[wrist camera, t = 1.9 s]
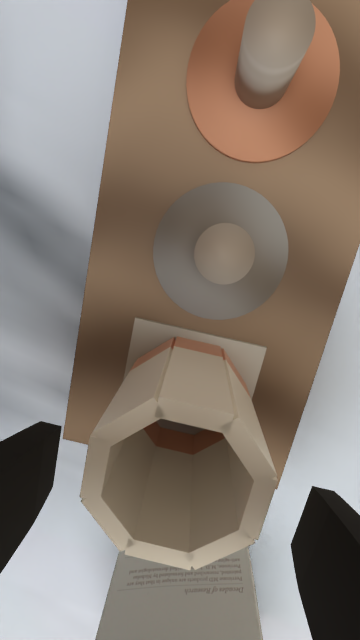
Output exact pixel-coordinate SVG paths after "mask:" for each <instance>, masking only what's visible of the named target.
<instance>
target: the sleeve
mask: <svg viewBox="0 0 360 640" xmlns="http://www.w3.org/2000/svg"><path fill="white" fill-rule="evenodd" d="M159 419H165V420H169V421H174V422H178V423H182V424H187V425H191V426H195V427H199V428H204V430H202V431H201V432H199V433H197V434H195V435H192V434H187V433H183V432H179V431H174V430H170V429H166V428H162V427H160V426H159V425H158V423H157V422H156V421H157V420H159ZM277 482H278V479H277V474H276V471H275V468H274V465H273V462H272V459H271V456H270V453H269V450H268V447H267V444H266V441H265V439H264V436H263V433H262V430H261V427H260V424H259V421H258V418H257V415H256V412H255V409H254V406H253V403H252V400H251V397H250V394H249V392H248V389H247V386H246V383H245V382H244V380H243V379H242V377H241V375H240V374H239V372H238V371H237V369H236V368H235V366H234V364H233V363H232V361H231V360H230V358H229V357H228V355H227V353H226V352H225V350H224V349H223V348H222V349H221V346H217V345H213V344H209V343H204V342H200V341H195V340H191V339H187V338H182V337H178V336H177V338H176V339H175V338H174V337H173V338H171V339H169V340H168V341H166V342H164V343H163V344H161V345H159V346H158V347H156V348H154V349H153V350H151V351H150V352H148V353H146V354H145V355H143V356H141V357H140V358H138V359H137V360H136V362H135V363H134V365H133V367H132V368H131V370H130V371H129V373H128V375H127V376H126V378H125V380H124V381H123V383H122V385H121V386H120V388H119V389H118V391H117V393H116V394H115V396H114V398H113V399H112V401H111V403H110V404H109V406H108V407H107V409H106V411H105V412H104V414H103V416H102V417H101V419H100V421H99V422H98V424H97V425H96V427H95V429H94V430H93V432H92V434H91V435H90V439H89V445H88V451H87V456H86V462H85V468H84V474H83V480H82V486H81V492H80V497H81V498H82V500H81V502H82V503H83V505H84V506H85V507H86V509H87V510H88V511H89V512H90V514H91V515H92V516H93V518H94V519H95V520H96V521H97V523H98V524H99V525H100V527H101V528H102V529H103V530H104V532H105V533H106V534H107V535H108V537H109V538H110V539H111V541H112V542H113V543H114V544H115V546H116V547H117V548H118V550H119V551H120V552H121V551H123V550H125V555H129V556H133V557H137V558H141V559H145V560H149V561H153V562H158V563H162V564H166V565H170V566H174V567H178V568H182V569H186V570H191V566H192V567H193V568H194V569H195V570H196V569H199V568H201V567H203V566H205V565H207V564H210V563H212V562H214V561H216V560H219V559H221V558H223V557H225V556H227V555H230V554H232V553H234V552H236V551H239V550H241V549H243V548H245V547H248V546H250V545H252V544H254V543H255V541H254V539H256V540H258V538H259V535H260V532H261V529H262V526H263V523H264V520H265V517H266V514H267V512H268V509H269V506H270V503H271V500H272V497H273V494H274V491H275V488H276V485H277Z"/></svg>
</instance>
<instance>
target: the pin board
mask: <svg viewBox="0 0 360 640" xmlns="http://www.w3.org/2000/svg"><path fill="white" fill-rule="evenodd" d="M359 244H360V0H128V2H127V9H126V15H125V22H124V29H123V36H122V42H121V49H120V56H119V63H118V69H117V76H116V83H115V90H114V96H113V103H112V110H111V116H110V123H109V130H108V137H107V143H106V150H105V157H104V164H103V170H102V177H101V184H100V191H99V197H98V204H97V211H96V218H95V224H94V231H93V238H92V245H91V251H90V258H89V265H88V271H87V278H86V285H85V292H84V298H83V305H82V312H81V319H80V325H79V332H78V339H77V346H76V352H75V359H74V366H73V373H72V379H71V386H70V393H69V400H68V406H67V413H66V420H65V426H64V433H63V439H66V440H71V441H75V442H79V443H83V444H87V445H89V439H90V435H91V434H92V432H93V430H94V429H95V427H96V425H97V424H98V422H99V421H100V419H101V417H102V416H103V414H104V412H105V411H106V409H107V407H108V406H109V404H110V403H111V401H112V399H113V398H114V396H115V394H116V393H117V391H118V389H119V388H120V386H121V385H122V383H123V381H124V380H125V378H126V376H127V375H128V373H129V371H130V370H131V368H132V367H133V365H134V363H135V362H136V360H137V359H138V358H140V357H141V356H143V355H145V354H146V353H148V352H150V351H151V350H153V349H154V348H156V347H158V346H159V345H161V344H163V343H164V342H166V341H168V340H169V339H171V338H173V337H174V338H175V339H176V338H177V336H178V337H182V338H187V339H191V340H195V341H200V342H204V343H209V344H213V345H217V346H221V349H222V348H223V349H224V350H225V352H226V353H227V355H228V357H229V358H230V360H231V361H232V363H233V364H234V366H235V368H236V369H237V371H238V372H239V374H240V375H241V377H242V379H243V380H244V382H245V383H246V386H247V389H248V392H249V394H250V397H251V400H252V403H253V406H254V409H255V412H256V415H257V418H258V421H259V424H260V427H261V430H262V433H263V436H264V439H265V441H266V444H267V447H268V450H269V453H270V456H271V459H272V462H273V465H274V468H275V471H276V474H277V479H278V482H277V485H276V488H275V489H277V488H278V485H279V482H280V479H281V476H282V473H283V470H284V467H285V464H286V461H287V458H288V455H289V452H290V449H291V446H292V443H293V440H294V437H295V434H296V431H297V428H298V425H299V422H300V419H301V416H302V413H303V410H304V407H305V404H306V401H307V398H308V395H309V392H310V390H311V387H312V384H313V381H314V378H315V375H316V372H317V369H318V366H319V363H320V360H321V357H322V354H323V351H324V348H325V345H326V342H327V339H328V336H329V333H330V330H331V327H332V324H333V321H334V318H335V315H336V312H337V309H338V306H339V303H340V300H341V297H342V294H343V291H344V288H345V285H346V282H347V280H348V277H349V274H350V271H351V268H352V265H353V262H354V259H355V256H356V253H357V250H358V247H359ZM156 422H157V423H158V425H159V426H160V427H162V428H166V429H170V430H174V431H179V432H183V433H187V434H192V435H195V434H197V433H199V432H201V431H202V430H204V428H199V427H195V426H191V425H187V424H182V423H178V422H174V421H169V420H165V419H159V420H157V421H156Z"/></svg>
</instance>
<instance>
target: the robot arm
mask: <svg viewBox="0 0 360 640" xmlns="http://www.w3.org/2000/svg"><path fill="white" fill-rule="evenodd" d="M60 433H61V426H58V425H54V424H50V423H46V422H42V421H41V422H38V423H36V424H34V425H32V426H30V427H28V428H26V429H24V430H22V431H20V432H18V433H16V434H14V435H13V436H11V437H9V438H7V439H5V440H3V441H1V442H0V573H1V572H2V570H3V569H4V567H5V566H6V564H7V563H8V561H9V560H10V558H11V557H12V555H13V554H14V552H15V551H16V549H17V548H18V546H19V545H20V543H21V542H22V540H23V539H24V537H25V536H26V534H27V533H28V531H29V530H30V528H31V527H32V525H33V523H34V522H35V520H36V518H37V516H38V514H39V512H40V510H41V509H42V507H43V505H44V503H45V501H46V499H47V497H48V495H49V493H50V491H51V489H52V487H53V481H54V475H55V468H56V461H57V454H58V447H59V440H60ZM291 549H292V556H293V562H294V568H295V573H296V579H297V584H298V589H299V593H300V597H301V600H302V604H303V607H304V611H305V614H306V618H307V622H308V625H309V629H310V632H311V636H312V639H313V640H360V515H359V514H358V513H357V512H356V511H355V510H354V509H353V508H352V507H351V506H350V505H349V504H347V503H346V502H345V501H344V500H343V499H342V498H341V497H340V496H339V495H338V494H337V493H336V492H334V491H331V490H327V489H322V488H318V487H314V486H312V488H311V491H310V494H309V497H308V499H307V502H306V505H305V507H304V510H303V513H302V516H301V518H300V521H299V524H298V527H297V529H296V532H295V535H294V537H293V540H292V543H291Z"/></svg>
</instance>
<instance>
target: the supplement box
mask: <svg viewBox="0 0 360 640" xmlns="http://www.w3.org/2000/svg"><path fill="white" fill-rule="evenodd" d="M95 640H263V636H262V630H261V624H260V617H259V610H258V603H257V597H256V590H255V584H254V578H253V572H252V566H251V560H250V555H249V549H248V547H245V548H243V549H241V550H239V551H236V552H234V553H232V554H230V555H227V556H225V557H223V558H221V559H219V560H216V561H214V562H212V563H210V564H207V565H205V566H203V567H201V568H199V569H196V570H195V569H194V568H193V567H192V566H191V570H186V569H182V568H178V567H174V566H170V565H166V564H162V563H158V562H153V561H149V560H145V559H141V558H137V557H133V556H129V555H125V550H123V551H121V552H120V551H119V554H118V558H117V561H116V565H115V568H114V572H113V576H112V579H111V583H110V587H109V591H108V594H107V598H106V602H105V605H104V609H103V613H102V617H101V620H100V624H99V628H98V631H97V635H96V639H95Z"/></svg>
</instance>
